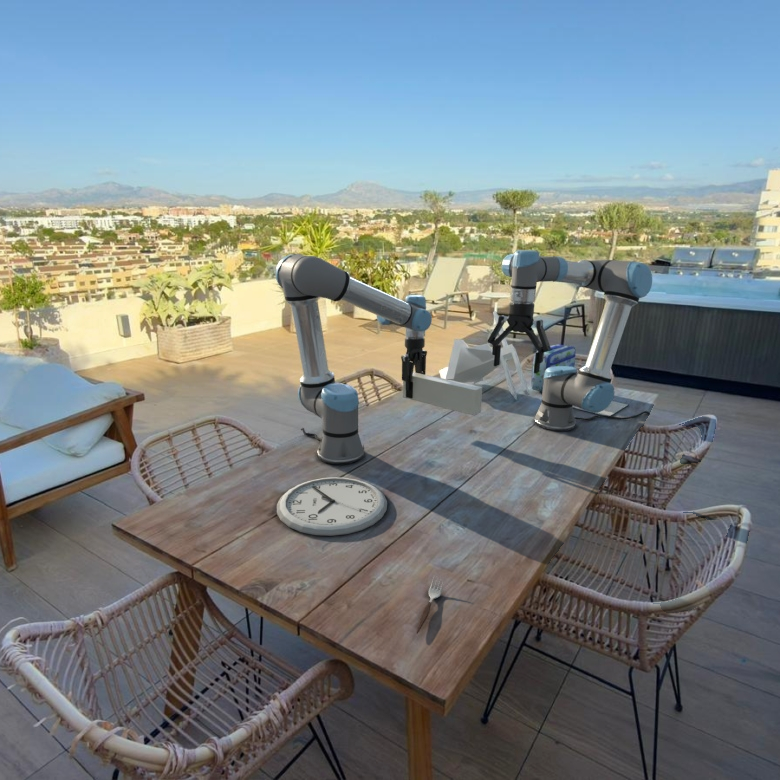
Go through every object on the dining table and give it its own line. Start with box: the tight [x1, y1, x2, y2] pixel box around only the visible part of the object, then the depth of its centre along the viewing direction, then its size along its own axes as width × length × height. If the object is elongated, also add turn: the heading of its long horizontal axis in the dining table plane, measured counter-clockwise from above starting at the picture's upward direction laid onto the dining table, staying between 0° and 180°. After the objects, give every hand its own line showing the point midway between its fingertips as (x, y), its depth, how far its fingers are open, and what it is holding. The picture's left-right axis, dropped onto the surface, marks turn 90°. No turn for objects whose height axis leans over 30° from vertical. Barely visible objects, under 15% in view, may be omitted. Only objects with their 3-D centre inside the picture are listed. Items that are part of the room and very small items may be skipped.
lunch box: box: [530, 344, 577, 392], centre depth 247 cm, size 26×11×21 cm, turn 134°
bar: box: [402, 371, 483, 417], centre depth 194 cm, size 32×5×10 cm, turn 50°
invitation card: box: [573, 400, 629, 416], centre depth 226 cm, size 21×1×15 cm
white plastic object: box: [438, 310, 531, 400], centre depth 245 cm, size 37×45×31 cm
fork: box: [416, 574, 445, 635], centre depth 104 cm, size 3×16×2 cm, turn 160°
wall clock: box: [276, 476, 388, 537], centre depth 142 cm, size 30×2×30 cm
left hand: (413, 395), depth 203 cm, fingers closed on bar, 5 cm apart
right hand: (515, 368), depth 167 cm, fingers open, 13 cm apart
